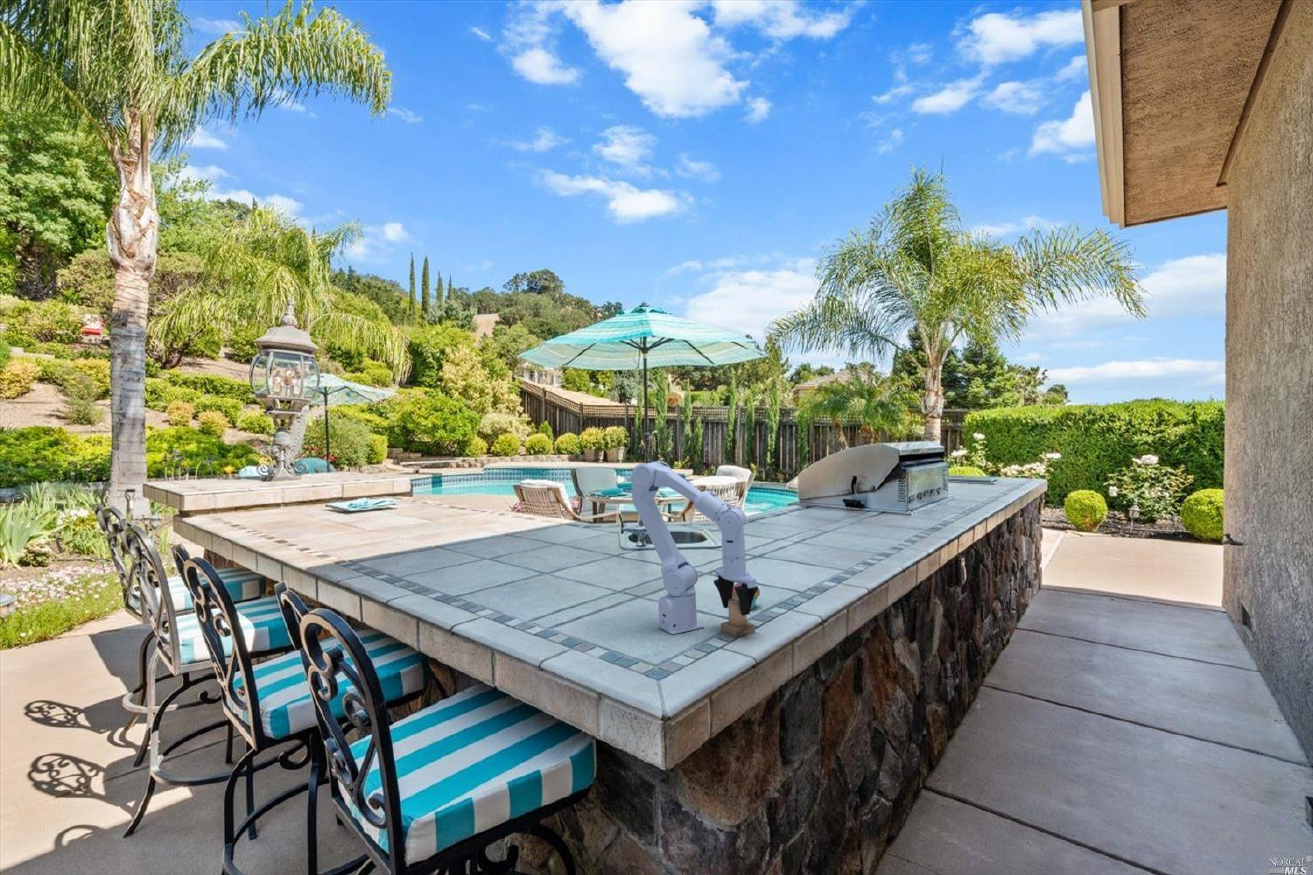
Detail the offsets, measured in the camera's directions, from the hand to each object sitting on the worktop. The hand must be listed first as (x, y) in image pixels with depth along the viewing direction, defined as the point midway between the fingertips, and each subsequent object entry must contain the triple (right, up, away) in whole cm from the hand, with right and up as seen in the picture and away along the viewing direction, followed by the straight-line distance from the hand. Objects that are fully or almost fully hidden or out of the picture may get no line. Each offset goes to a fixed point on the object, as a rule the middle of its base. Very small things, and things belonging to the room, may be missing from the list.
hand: (736, 610), depth 144 cm
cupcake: (+5, -5, +20) cm, 22 cm away
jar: (0, -3, 0) cm, 3 cm away
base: (0, -5, 0) cm, 5 cm away
